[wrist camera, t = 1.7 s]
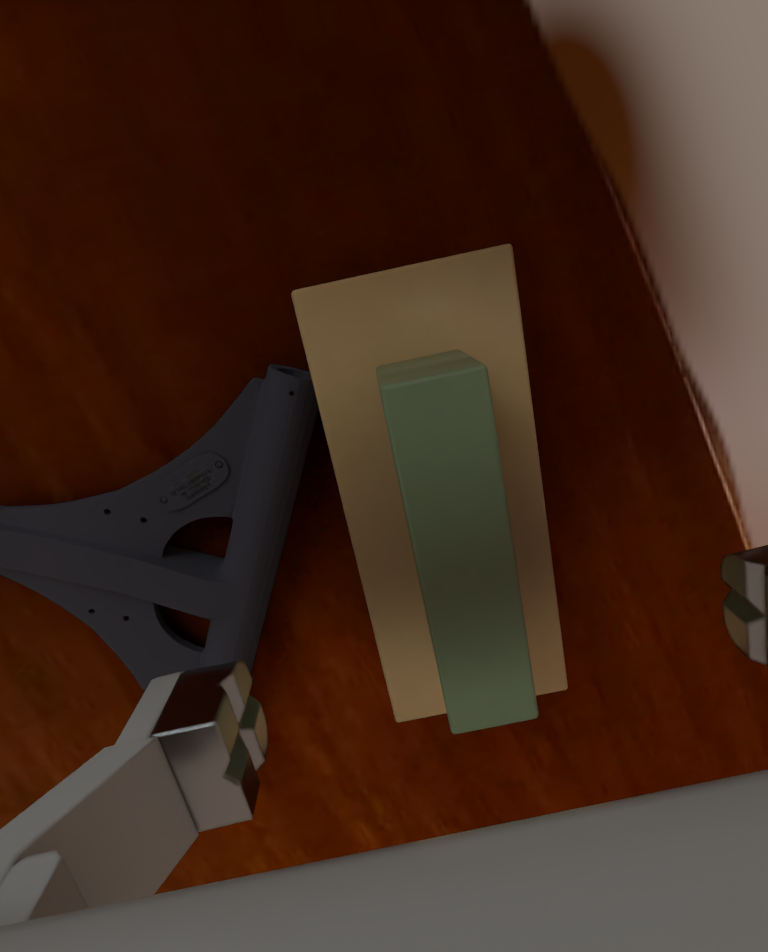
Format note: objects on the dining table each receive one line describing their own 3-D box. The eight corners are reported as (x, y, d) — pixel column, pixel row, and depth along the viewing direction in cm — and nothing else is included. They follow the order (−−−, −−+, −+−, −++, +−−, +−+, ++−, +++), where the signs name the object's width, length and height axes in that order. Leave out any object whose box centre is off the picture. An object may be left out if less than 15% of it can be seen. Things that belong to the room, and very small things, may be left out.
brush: (305, 291, 16) (268, 289, 10) (479, 253, 16) (558, 227, 10) (390, 647, 20) (403, 815, 13) (532, 619, 20) (613, 776, 13)
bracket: (-218, 222, 15) (-341, 208, 12) (328, 376, 17) (321, 392, 14) (-206, 668, 19) (-297, 728, 17) (230, 754, 21) (211, 821, 18)
